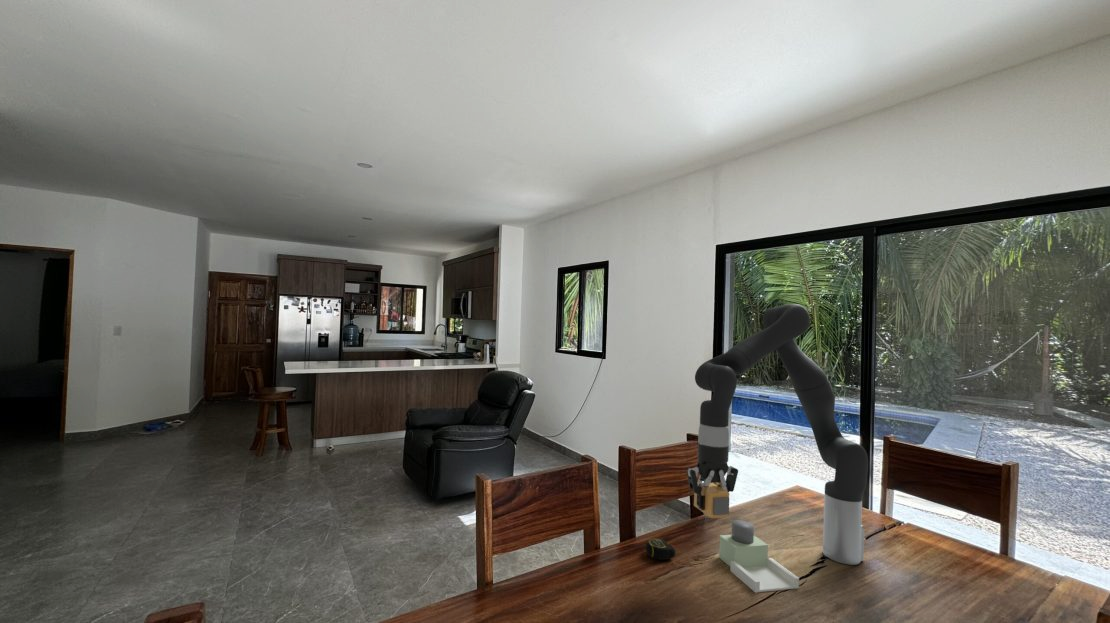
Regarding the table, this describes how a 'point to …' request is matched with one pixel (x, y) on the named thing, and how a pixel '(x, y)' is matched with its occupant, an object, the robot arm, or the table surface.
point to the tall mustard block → (715, 502)
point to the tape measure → (659, 549)
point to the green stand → (753, 560)
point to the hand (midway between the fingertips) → (711, 508)
